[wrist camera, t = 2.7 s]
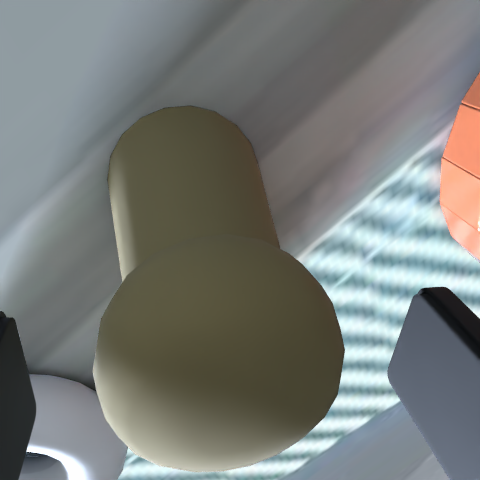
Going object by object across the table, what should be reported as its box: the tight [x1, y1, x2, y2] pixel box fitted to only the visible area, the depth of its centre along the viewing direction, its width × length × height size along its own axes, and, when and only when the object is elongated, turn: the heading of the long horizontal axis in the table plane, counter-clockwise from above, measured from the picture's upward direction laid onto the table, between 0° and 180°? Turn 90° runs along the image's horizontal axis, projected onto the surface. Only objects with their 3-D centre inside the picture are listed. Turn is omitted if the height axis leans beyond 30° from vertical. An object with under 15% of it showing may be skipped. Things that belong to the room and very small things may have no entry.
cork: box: [93, 106, 345, 472], centre depth 12 cm, size 6×6×11 cm
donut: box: [19, 374, 128, 480], centre depth 21 cm, size 10×4×10 cm
